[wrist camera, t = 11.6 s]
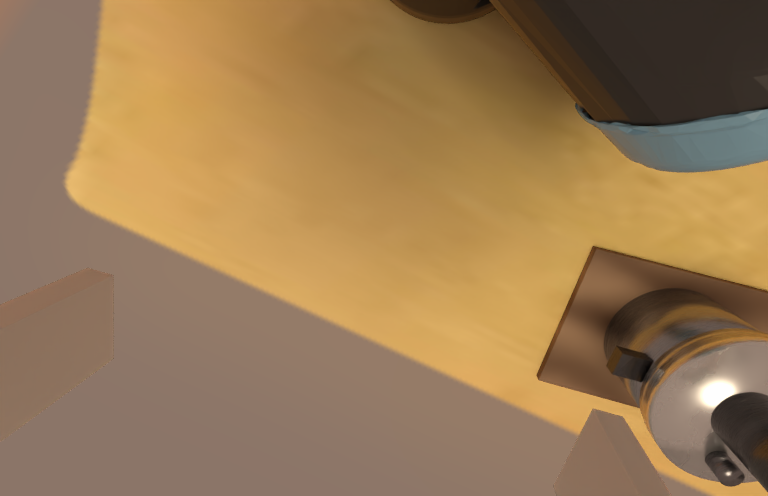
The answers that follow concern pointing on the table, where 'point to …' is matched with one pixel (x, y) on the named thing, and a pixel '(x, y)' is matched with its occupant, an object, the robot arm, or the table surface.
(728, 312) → the cooker pot
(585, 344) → the walnut board
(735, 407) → the lid
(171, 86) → the table surface
